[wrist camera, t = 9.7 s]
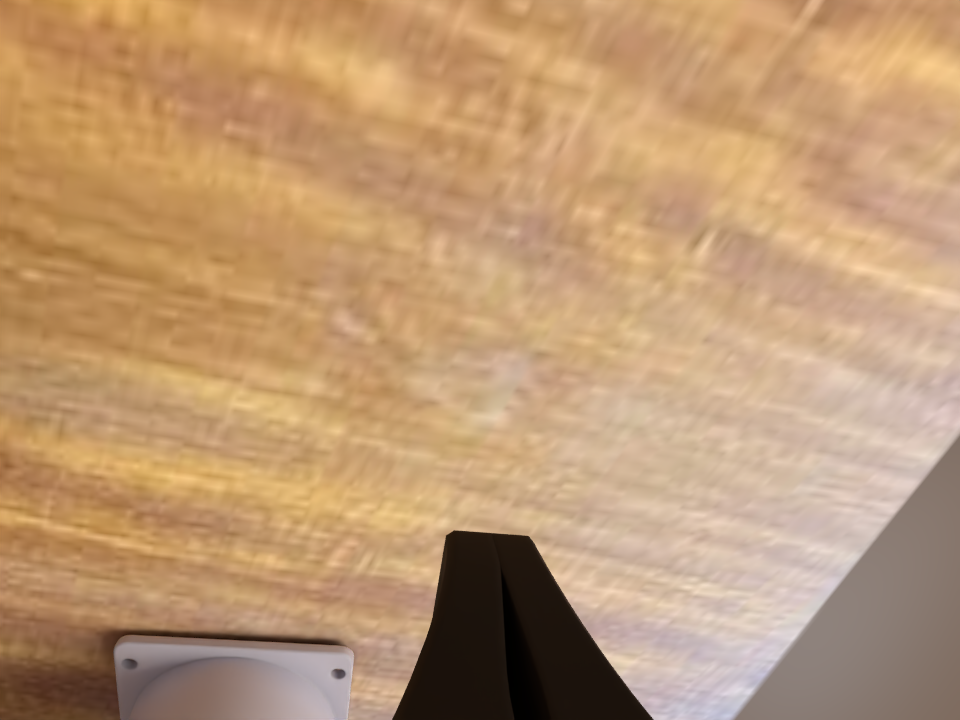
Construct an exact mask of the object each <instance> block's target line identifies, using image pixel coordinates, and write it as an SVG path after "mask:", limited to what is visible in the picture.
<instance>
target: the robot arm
mask: <svg viewBox="0 0 960 720" xmlns="http://www.w3.org/2000/svg"><path fill="white" fill-rule="evenodd" d="M113 654H114V663H115V673H116V682H117V692H118V702H119V711H120V720H348V710H349V701H350V691H351V681H352V672H353V662H354V653H353V652H352V650H351V649H349V648H347V647H345V646H339V645H320V644H300V643H281V642H261V641H242V640H223V639H203V638H184V637H164V636H145V635H125V636H123V637H121V638H120V639H119V640H118V641H117V643H116V645H115V647H114V651H113ZM131 659H132V660H131ZM337 669H341V670H337ZM392 720H653V718H652V717H651V716H650V715H649V714H648V712H647V711H646V710H645V709H644V707H643V706H642V705H641V704H640V702H639V701H638V700H637V699H636V697H635V696H634V695H633V694H632V692H631V691H630V690H629V688H628V687H627V686H626V684H625V683H624V682H623V680H622V679H621V678H620V676H619V675H618V674H617V672H616V671H615V670H614V668H613V667H612V666H611V664H610V663H609V661H608V660H607V659H606V657H605V656H604V654H603V653H602V652H601V650H600V649H599V647H598V646H597V644H596V643H595V641H594V640H593V638H592V637H591V635H590V634H589V633H588V631H587V630H586V628H585V627H584V625H583V624H582V622H581V621H580V619H579V618H578V616H577V615H576V613H575V611H574V610H573V608H572V607H571V605H570V604H569V602H568V600H567V599H566V597H565V596H564V594H563V592H562V591H561V589H560V587H559V586H558V584H557V582H556V581H555V579H554V577H553V576H552V574H551V572H550V571H549V569H548V567H547V565H546V564H545V562H544V560H543V558H542V557H541V555H540V553H539V551H538V550H537V548H536V546H535V544H534V542H533V541H532V540H531V539H530V537H529V536H522V535H508V534H495V533H481V532H468V531H453V532H451V533H450V534H448V535H446V540H445V546H444V552H443V558H442V564H441V570H440V576H439V582H438V588H437V594H436V600H435V606H434V612H433V618H432V622H431V625H430V628H429V631H428V634H427V637H426V640H425V642H424V645H423V648H422V650H421V653H420V655H419V658H418V661H417V663H416V666H415V668H414V671H413V674H412V676H411V679H410V681H409V683H408V686H407V688H406V690H405V693H404V695H403V697H402V700H401V702H400V704H399V706H398V708H397V711H396V713H395V715H394V717H393V719H392Z"/></svg>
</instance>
